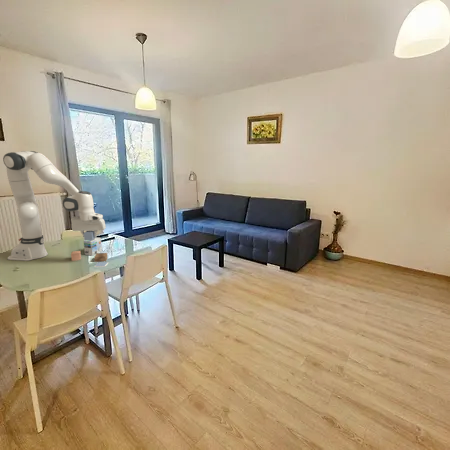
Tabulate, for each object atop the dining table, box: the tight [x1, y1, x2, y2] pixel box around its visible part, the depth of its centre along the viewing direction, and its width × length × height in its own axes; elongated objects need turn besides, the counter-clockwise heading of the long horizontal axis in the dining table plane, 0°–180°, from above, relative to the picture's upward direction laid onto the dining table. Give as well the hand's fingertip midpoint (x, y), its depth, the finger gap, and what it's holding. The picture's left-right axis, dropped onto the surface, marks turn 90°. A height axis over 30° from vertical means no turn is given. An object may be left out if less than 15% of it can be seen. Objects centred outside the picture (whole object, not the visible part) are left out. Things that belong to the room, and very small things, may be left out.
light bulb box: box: [83, 236, 103, 257], centre depth 187 cm, size 11×7×11 cm, turn 168°
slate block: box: [83, 230, 97, 241], centre depth 167 cm, size 5×5×5 cm
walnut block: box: [93, 252, 109, 263], centre depth 175 cm, size 7×7×4 cm
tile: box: [93, 261, 109, 268], centre depth 167 cm, size 7×7×1 cm
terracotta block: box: [70, 250, 82, 262], centre depth 175 cm, size 5×5×5 cm
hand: (90, 236), depth 167 cm, fingers closed on slate block, 5 cm apart
